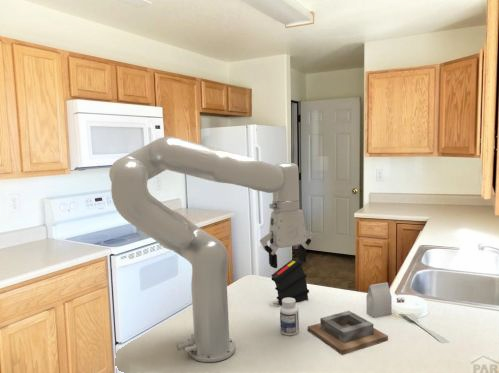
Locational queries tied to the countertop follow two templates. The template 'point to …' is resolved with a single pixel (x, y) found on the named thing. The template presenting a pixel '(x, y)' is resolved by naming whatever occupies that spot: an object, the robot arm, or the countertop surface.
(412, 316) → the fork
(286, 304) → the pill bottle
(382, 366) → the countertop surface
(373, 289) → the grey upright pouch
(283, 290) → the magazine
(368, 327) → the mount
